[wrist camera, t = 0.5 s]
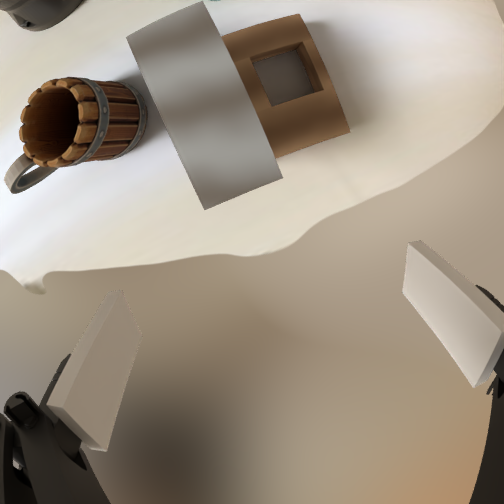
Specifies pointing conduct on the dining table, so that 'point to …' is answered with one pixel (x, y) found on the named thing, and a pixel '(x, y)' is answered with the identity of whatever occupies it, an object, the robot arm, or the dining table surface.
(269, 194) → the dining table surface
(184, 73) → the socket block
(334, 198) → the dining table surface
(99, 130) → the mug
